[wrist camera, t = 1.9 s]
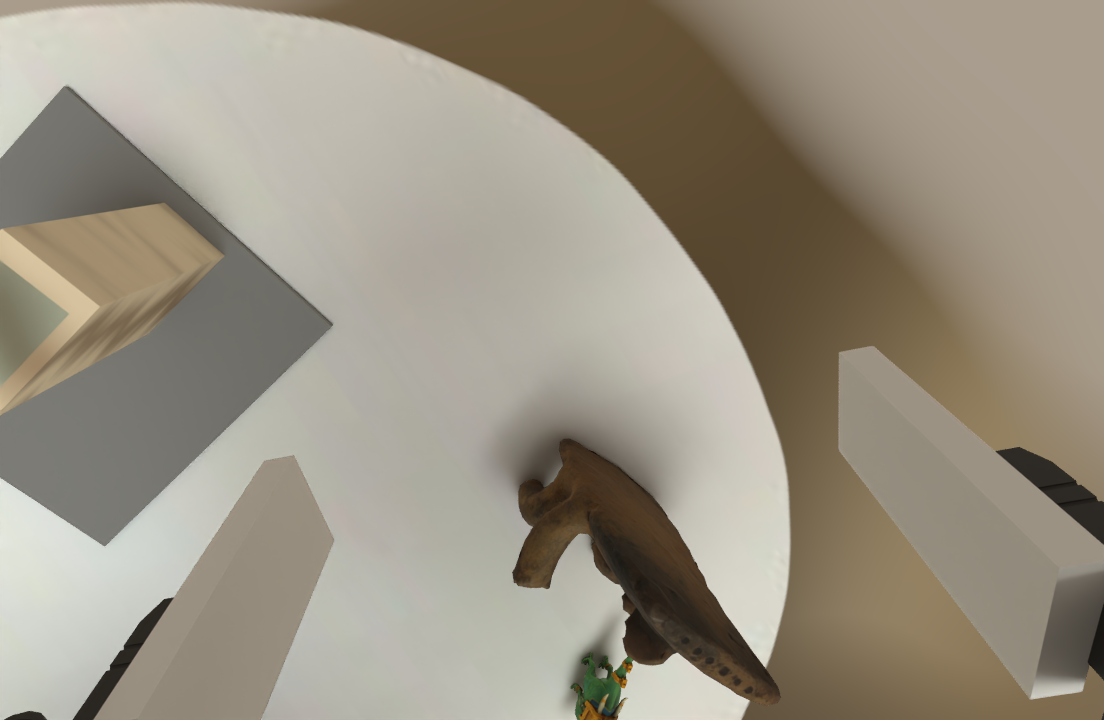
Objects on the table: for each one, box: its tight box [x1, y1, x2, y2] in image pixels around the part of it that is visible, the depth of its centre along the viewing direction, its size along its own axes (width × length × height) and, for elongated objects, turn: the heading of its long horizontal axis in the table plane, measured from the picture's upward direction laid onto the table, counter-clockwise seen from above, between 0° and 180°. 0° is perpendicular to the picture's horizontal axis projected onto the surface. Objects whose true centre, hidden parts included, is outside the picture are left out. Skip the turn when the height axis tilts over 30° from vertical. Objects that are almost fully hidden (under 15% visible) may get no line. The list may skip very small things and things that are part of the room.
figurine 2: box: [512, 439, 781, 706], centre depth 40 cm, size 13×8×20 cm, turn 52°
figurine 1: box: [571, 653, 633, 720], centre depth 51 cm, size 3×12×8 cm, turn 158°
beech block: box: [0, 203, 225, 415], centre depth 33 cm, size 8×4×14 cm, turn 132°
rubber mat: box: [0, 86, 332, 546], centre depth 41 cm, size 24×20×1 cm
